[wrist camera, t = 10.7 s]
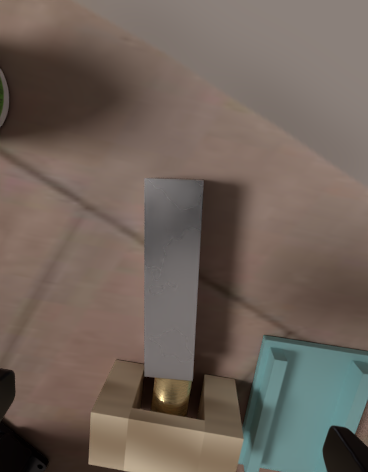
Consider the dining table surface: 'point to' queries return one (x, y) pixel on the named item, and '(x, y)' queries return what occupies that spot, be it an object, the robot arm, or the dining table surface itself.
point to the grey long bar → (171, 275)
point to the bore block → (164, 428)
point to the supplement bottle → (3, 98)
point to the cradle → (301, 403)
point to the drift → (171, 396)
